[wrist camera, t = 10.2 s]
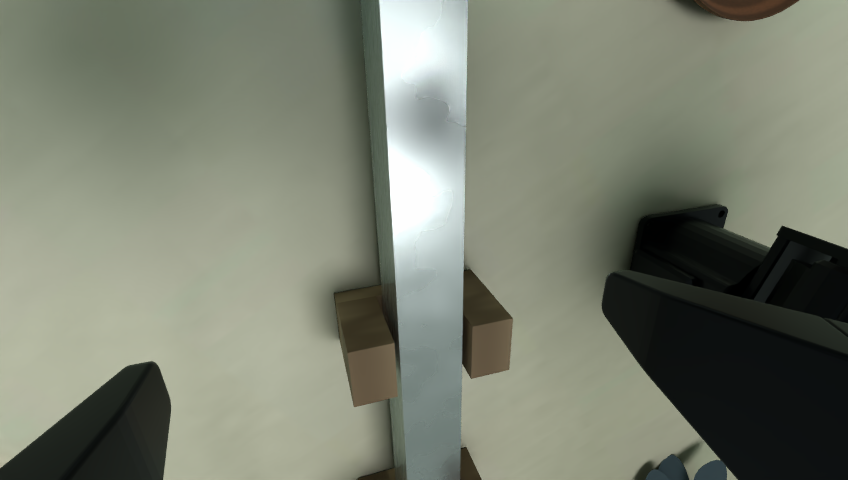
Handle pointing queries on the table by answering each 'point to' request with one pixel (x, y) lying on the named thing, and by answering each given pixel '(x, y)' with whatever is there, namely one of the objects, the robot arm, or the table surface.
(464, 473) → the bearing
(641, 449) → the table surface
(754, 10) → the cup and saucer
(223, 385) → the table surface
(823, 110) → the table surface
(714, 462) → the toy
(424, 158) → the shaft
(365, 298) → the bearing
